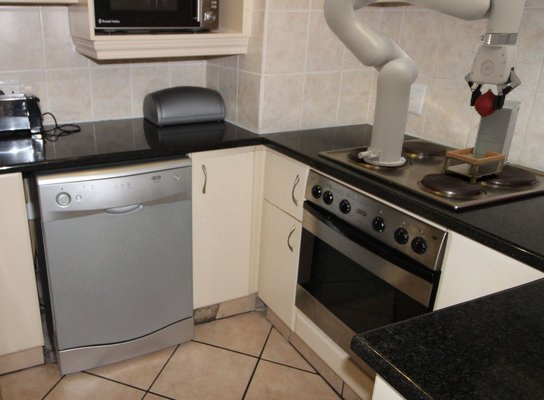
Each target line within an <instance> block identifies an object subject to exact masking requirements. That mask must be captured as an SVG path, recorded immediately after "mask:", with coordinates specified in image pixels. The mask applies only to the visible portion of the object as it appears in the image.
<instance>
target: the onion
mask: <svg viewBox="0 0 544 400" xmlns="http://www.w3.org/2000/svg"><path fill="white" fill-rule="evenodd" d="M496 95H497V94H495V93H494V92H493V91H492V88H488V89H487V91H486V92H484V93H482V95H481V96H479V97H478V98H477V100H476V101H475V104H474V106H473V107H474V110H475V111H476V112H477V114H478V115H479V116H480V118H481V117H487V116H489V115H491V114H492V113H494V112H495V111H496V110H493V109H492V108H493V104H494V99H495V96H496Z"/></svg>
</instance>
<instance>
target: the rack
mask: <svg viewBox="0 0 544 400" xmlns="http://www.w3.org/2000/svg"><path fill="white" fill-rule="evenodd" d="M473 150H474V146H473V147H466V148H461V149H456V150H455V149H454V150H450V151H446V152H445V157H444V161H443V168H442V172H441V173H442V175H448V173H453V174H456V175H459V176H463V177H466V178H470V179H469V180H470V181H469V183H470V184H472V185H475V184H476V182H477V179H481V178H483V177H482V176H485V175H490V176H492V175H491V174H497V173H501V175H494V178H495V179H501V178H502V177H501V176H502V172H503V168H504V167H503V165H504V160H505V156H506V155H504V154H499V153H495V152H490V151H486V154H481V153H474V152H473ZM451 160H452V161H455V162H460V163H461V164H455V165H451V166H450V163H451ZM496 162H498V167H497V170H496V169H492V168H487V167H481V165H486V164H491V163H496Z"/></svg>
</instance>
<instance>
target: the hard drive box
mask: <svg viewBox="0 0 544 400" xmlns="http://www.w3.org/2000/svg"><path fill="white" fill-rule="evenodd" d="M521 103H522V102H521V101H520V100H511V99H505V101H504V105H503V107H502V109H500V110H496V111H495V112H494V113H492V114H491V115H489V116H487V117H481V116H480V117H479V123H478V128H477V133H476V137H475V142H474V146H473V147H474V150H473V152H474V153H481V154H486V151H490V152H495V153H499V154H504V155H506V156H505V160H504V164H505V165H504V166H503V168H504V167H505V166H506V164H507V163H508V158H509V156H510V155H509V154H510V151H511V147H512V146H511V145H512V142H513V137H514V133H515V129H516V124H517V121H518V116H519V112H520V108H521ZM481 167H487V168H492V169H496V170H497V167H498V162H496V163H491V164H486V165H481ZM495 175H496V174H495ZM495 175H494V176H495Z"/></svg>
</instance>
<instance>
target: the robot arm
mask: <svg viewBox="0 0 544 400" xmlns="http://www.w3.org/2000/svg"><path fill="white" fill-rule="evenodd" d="M323 1H324V2H323V17H324V20H325V23H326V25H327V26H328V28H329V29H330V31H331V32H332V33H333V34H334V35H335V37H336V38H338V40H339V41H340V42H341V43H342V44H343V45H344V46H345V48H346V49H347V50H348V51H349V52H350V53H351V54H352V55H353V56H354V57H355V58H356V59H357V60H358V62H359V63H361V64H362V65H363V66H365V67H373V68H374V70H376V71H377V72H378V75H377V79H376V92H375V93H376V94H375V96H376V97H375V104H374V107H375V108H374V115H373V122H372V129H371V137H370V144H369V147H367V150H366V151H360V152H358V154H357V155H358V158H359V159H363V161H364V162H365V163H368V164H370V165H373V166H380V167H401V166H403V165H405V164H406V158H405V157H403V156H402V152H403V145H404V139H405V133H406V127H407V122H408V121H407V120H408V112H409V108H410V107H409V106H410V99H411V97H410V96H411V88H412V85H413V84H414V83H415V82H416V81H417V78H418V75H419V67H418V65H417V64H416V62H415V61H414V60H413V58H412V57H411V56H409V54H407V53H406V51H405V50H403V48H402V47H401V46H400V45H399V44H398V43H397V42H395V40H394V39H392V38H391V37H390V36H388V35H386V34H384V33H377V32H376V31H375V30H373V29H372V28H371V27H370V26H369V25H368V23H367V22H366V21H365V20H364V19H362V17H360V16H359V15H358V14H357V13H356V11H358V10H360V9H362V8H365V7H366V6H368V5H371V4H374V3H376V2H378V1H379V0H323ZM399 1H400V2H403V3H406V4H410V5H412V6H415V7H419V8H422V9H423V8H424V9H429V10H431V11H435V12H438V13H441V14H444V15H448V16H450V17H453V18H456V19H459V20H463V21H467V22H471V21H472V22H474V21H478V20H479V21H480V20H487V22H486V27H485V32H484V35H481V36H480V38H479V39H480V41H482V45H481V44H480V45H478V48H477V51H476V53H475V55H474V58H473V60H472V65H471V69H470V72H469V73H467V74H466V75H465V76H464V80H465V82H466V83H467V86H468V87H469V88H470V89H469V90H470V92H471V96H470V100H469V102H470V104H469V106H470V107H474V104H475V101H476V100H477V98H478V97H479V96H481V95H482V94H483V92H482V91H481V90H482V89H483V87H484V85H494V86H495V85H496V91H497V94H495V95H496V96H495V99H494V104H493V108H492V109H493V110H500V109H502V107H503V105H504V101H505V100H506V97H507V95H509V94H510V93H511V92H513V91H514V90H515V89H516V88H517V87H519V86H521V84H522V81H521V79H520V78H519V77H518V75H517V74H516V72H517V66H518V57H519V56H518V55H519V54H518V52H519V50H518V49H519V47H518V45H517V40H518V36H519V32H520V26H521V23H522V19H523V18H522V17H523V14H524V11H525V10H524V9H525V6H526V1H527V0H399Z"/></svg>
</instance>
